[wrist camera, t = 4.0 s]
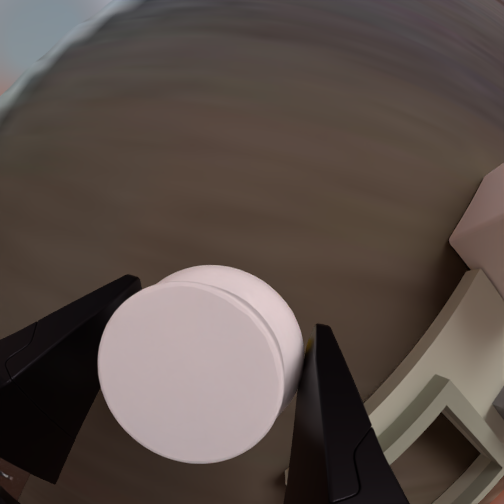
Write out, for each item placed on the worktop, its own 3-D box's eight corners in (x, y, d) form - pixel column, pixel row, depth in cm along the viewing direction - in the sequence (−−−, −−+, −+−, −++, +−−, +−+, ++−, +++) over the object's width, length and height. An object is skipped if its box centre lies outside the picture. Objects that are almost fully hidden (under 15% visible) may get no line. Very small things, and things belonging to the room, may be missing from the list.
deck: (405, 538, 11) (426, 576, 5) (284, 470, 13) (286, 528, 8) (539, 386, 12) (582, 395, 7) (466, 271, 15) (524, 257, 9)
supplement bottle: (229, 401, 14) (169, 514, 4) (168, 322, 15) (38, 333, 5) (311, 343, 14) (373, 403, 5) (248, 261, 15) (205, 188, 6)
